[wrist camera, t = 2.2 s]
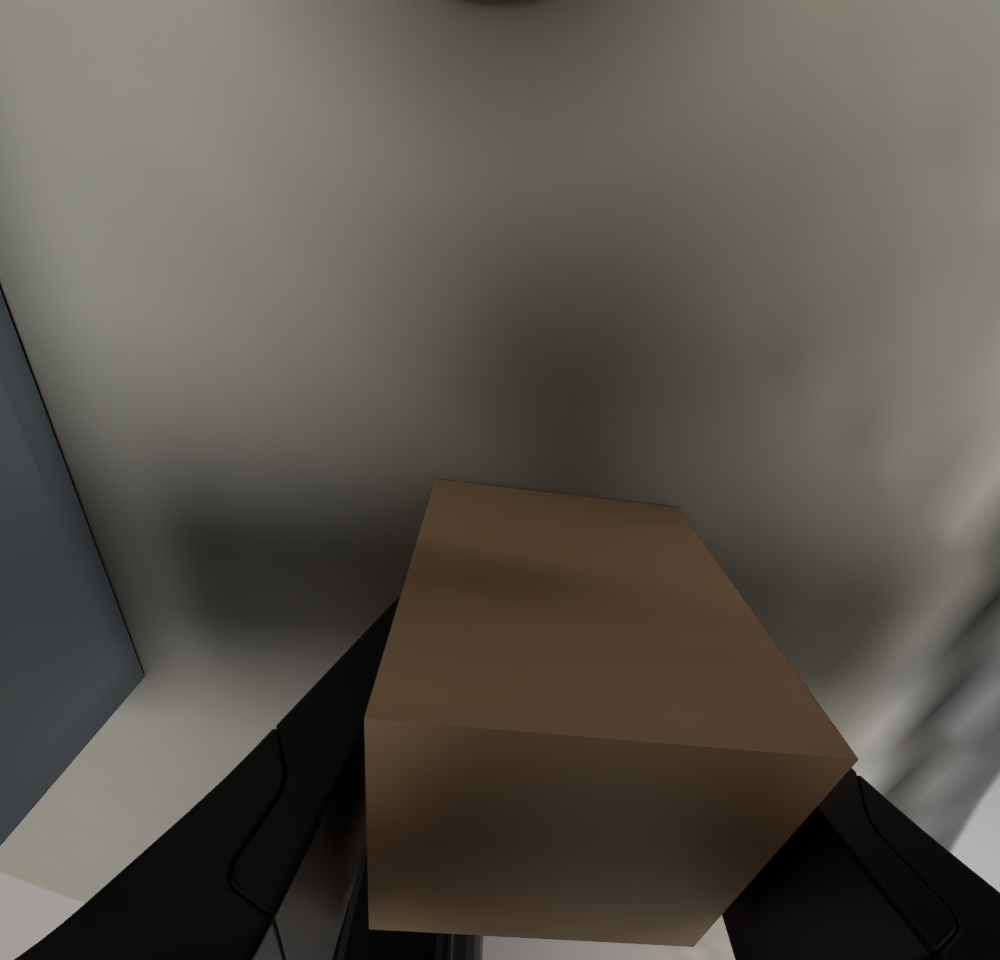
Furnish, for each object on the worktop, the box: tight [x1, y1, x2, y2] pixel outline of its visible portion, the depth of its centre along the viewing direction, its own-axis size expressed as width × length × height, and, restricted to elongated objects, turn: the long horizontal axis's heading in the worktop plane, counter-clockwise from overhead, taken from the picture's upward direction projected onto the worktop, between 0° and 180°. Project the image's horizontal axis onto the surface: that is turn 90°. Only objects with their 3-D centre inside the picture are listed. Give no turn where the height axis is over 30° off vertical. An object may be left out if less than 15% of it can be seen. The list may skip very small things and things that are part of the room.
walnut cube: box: [364, 479, 858, 947], centre depth 8 cm, size 5×5×5 cm
